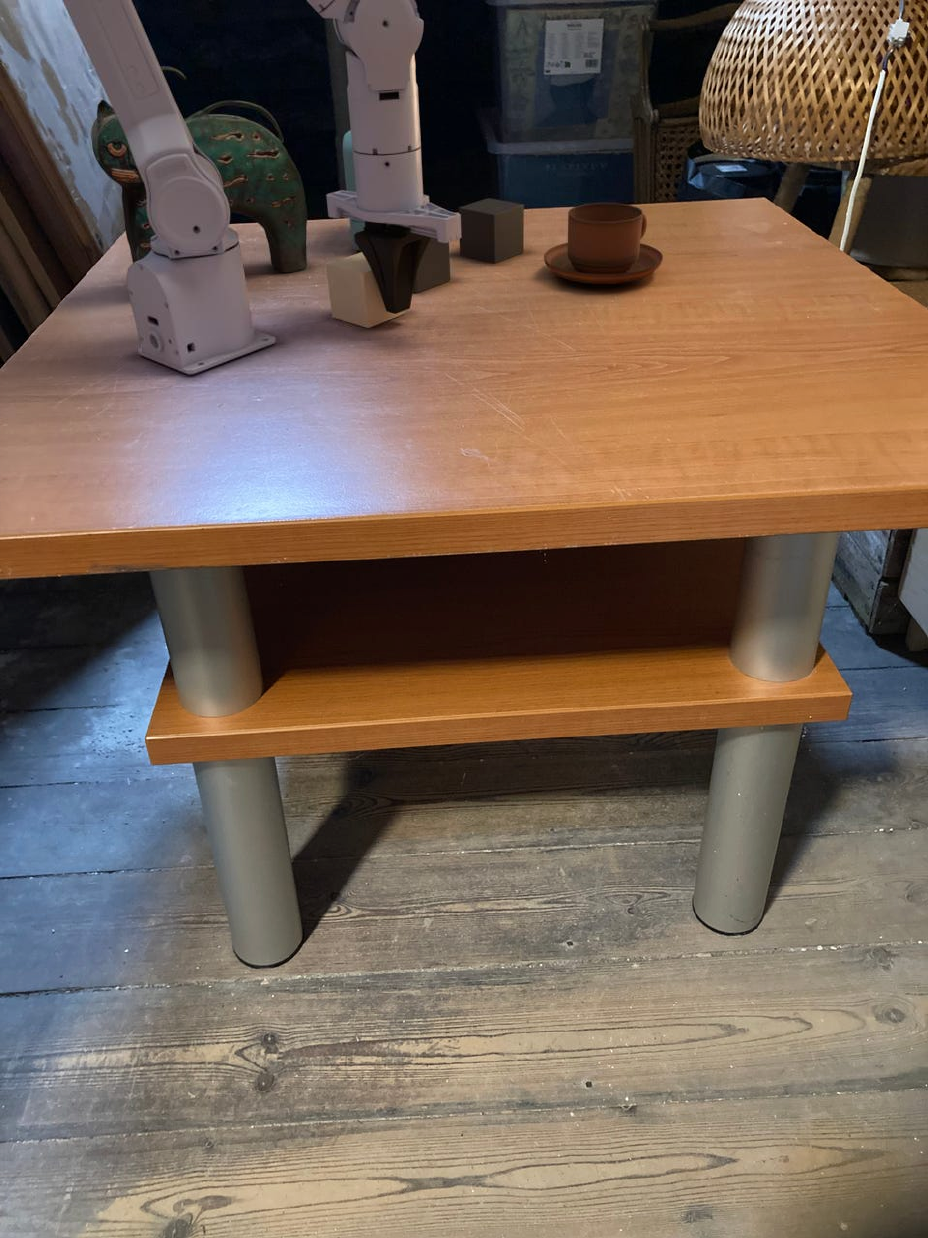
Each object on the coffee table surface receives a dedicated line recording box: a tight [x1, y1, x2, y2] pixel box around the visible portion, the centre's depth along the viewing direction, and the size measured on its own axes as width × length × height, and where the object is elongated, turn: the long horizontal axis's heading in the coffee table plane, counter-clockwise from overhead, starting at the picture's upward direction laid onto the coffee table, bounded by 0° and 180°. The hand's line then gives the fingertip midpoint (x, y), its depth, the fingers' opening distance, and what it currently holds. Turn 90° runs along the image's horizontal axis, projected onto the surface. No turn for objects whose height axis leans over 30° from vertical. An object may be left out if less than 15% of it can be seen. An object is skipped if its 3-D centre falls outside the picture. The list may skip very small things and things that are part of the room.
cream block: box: [325, 251, 407, 329], centre depth 90 cm, size 5×5×5 cm
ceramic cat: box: [90, 65, 308, 273], centre depth 95 cm, size 20×6×20 cm, turn 121°
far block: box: [458, 197, 525, 264], centre depth 105 cm, size 5×5×5 cm
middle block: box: [413, 237, 451, 294], centre depth 98 cm, size 5×5×5 cm
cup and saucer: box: [543, 202, 664, 285], centre depth 97 cm, size 12×12×6 cm
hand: (398, 309), depth 88 cm, fingers closed
